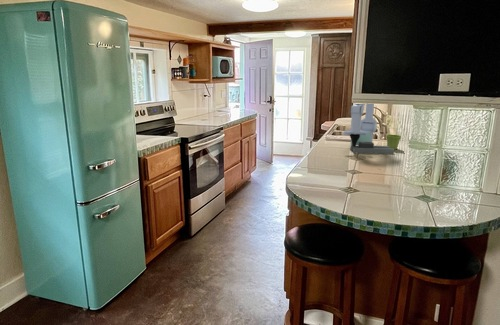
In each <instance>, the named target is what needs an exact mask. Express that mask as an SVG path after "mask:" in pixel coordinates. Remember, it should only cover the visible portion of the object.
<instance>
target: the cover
mask: <svg viewBox="0 0 500 325" xmlns="http://www.w3.org/2000/svg"><path fill="white" fill-rule="evenodd" d="M352 134H353V133H352ZM359 142H370V132H367V135H360V138H359V139H358V141H357V143H356V146H359ZM350 145H352V140H351V139H350Z"/></svg>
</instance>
